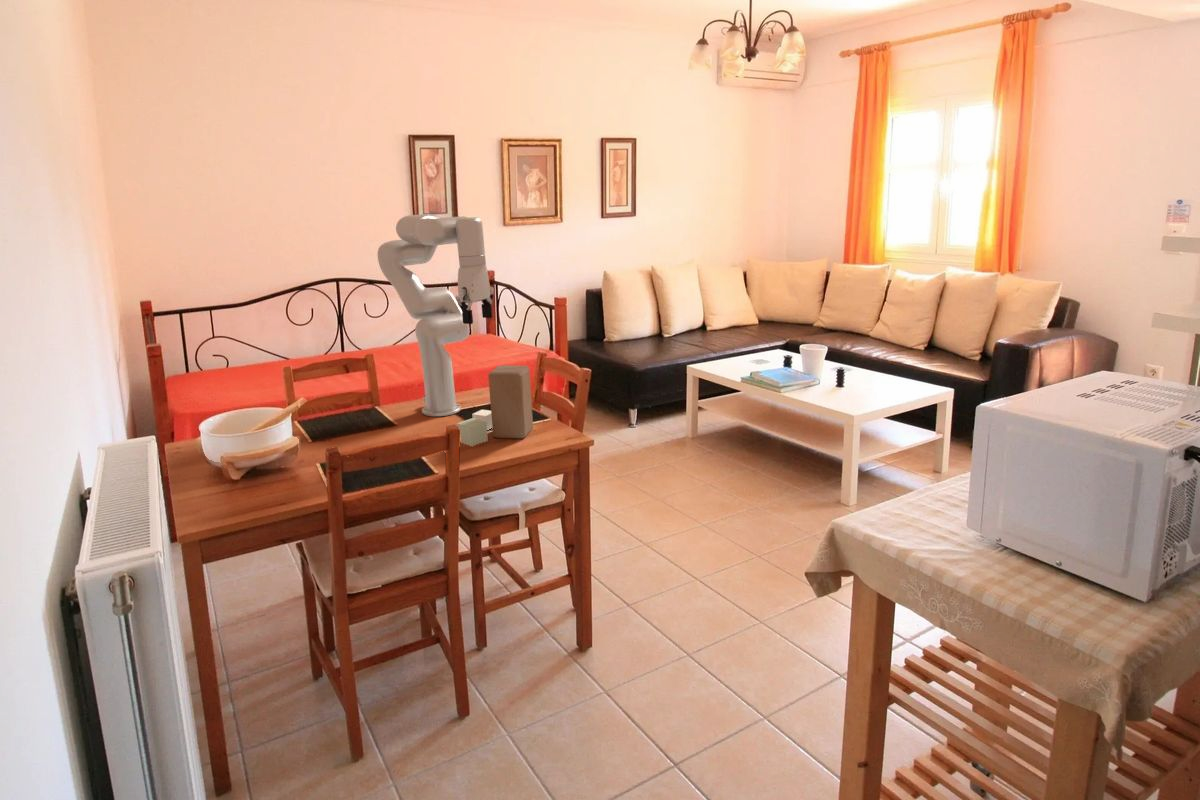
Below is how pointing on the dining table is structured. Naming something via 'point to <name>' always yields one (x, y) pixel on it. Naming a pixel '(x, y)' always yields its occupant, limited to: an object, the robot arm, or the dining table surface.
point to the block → (510, 401)
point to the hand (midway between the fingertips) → (478, 320)
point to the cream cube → (484, 417)
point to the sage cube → (473, 431)
